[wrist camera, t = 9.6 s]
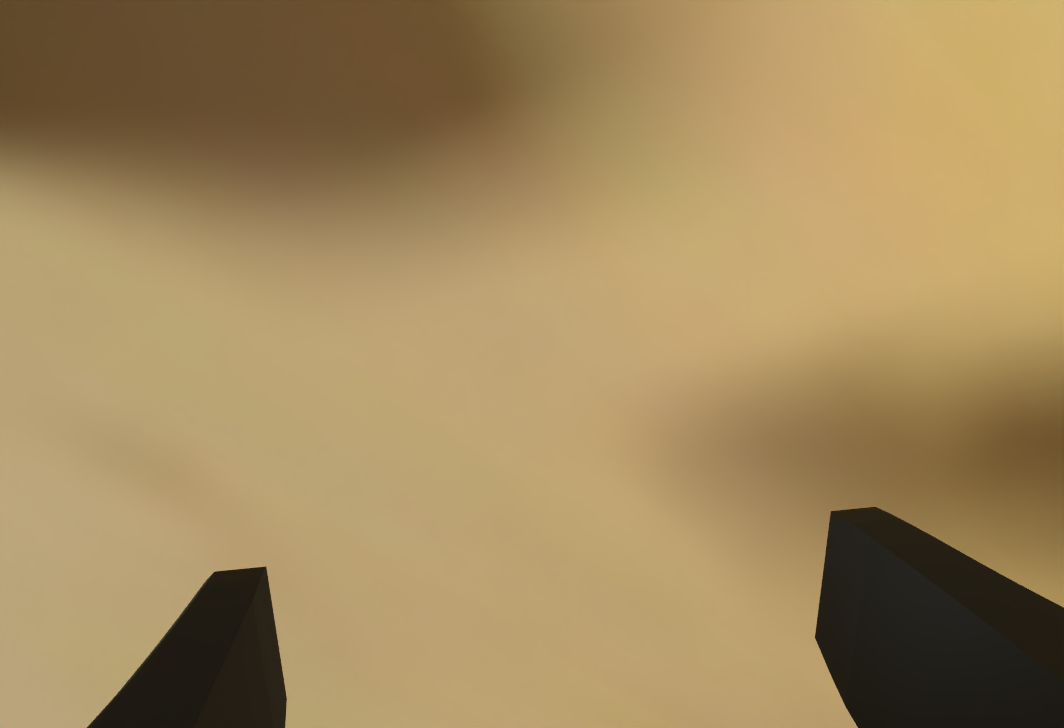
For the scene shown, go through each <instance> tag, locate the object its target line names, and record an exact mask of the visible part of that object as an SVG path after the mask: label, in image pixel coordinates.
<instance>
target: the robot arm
mask: <svg viewBox="0 0 1064 728" xmlns="http://www.w3.org/2000/svg"><path fill="white" fill-rule="evenodd" d="M815 639H816V641H817V643H818V646H819V648H820V650H821V653H822V655H823V657H824V660H825V662H826V664H827V667H828V669H829V672H830V674H831V676H832V678H833V680H834V683H835V685H836V687H837V689H838V691H839V693H840V696H841V698H842V700H843V702H844V704H845V706H846V708H847V710H848V711H849V713H850V715H851V716H852V718H853V720H854V722H855V723H856V725H857V727H858V728H1064V608H1063V607H1061V606H1059V605H1058V604H1056V603H1054V602H1052V601H1050V600H1048V599H1046V598H1044V597H1042V596H1040V595H1038V594H1036V593H1034V592H1033V591H1031V590H1029V589H1027V588H1025V587H1023V586H1021V585H1019V584H1018V583H1016V582H1014V581H1012V580H1010V579H1008V578H1006V577H1005V576H1003V575H1001V574H999V573H997V572H996V571H994V570H992V569H990V568H988V567H986V566H985V565H983V564H981V563H979V562H977V561H976V560H974V559H972V558H970V557H968V556H967V555H965V554H963V553H961V552H960V551H958V550H956V549H954V548H952V547H951V546H949V545H947V544H945V543H943V542H942V541H940V540H938V539H936V538H935V537H933V536H931V535H929V534H927V533H925V532H924V531H922V530H920V529H918V528H916V527H915V526H913V525H911V524H909V523H907V522H905V521H903V520H901V519H899V518H897V517H895V516H893V515H892V514H889V513H887V512H885V511H883V510H881V509H879V508H876V507H870V508H860V509H849V510H839V511H831V515H830V523H829V531H828V539H827V547H826V555H825V563H824V571H823V579H822V587H821V594H820V602H819V610H818V618H817V626H816V634H815ZM286 701H287V698H286V691H285V685H284V678H283V672H282V666H281V659H280V653H279V646H278V640H277V633H276V627H275V621H274V614H273V608H272V601H271V595H270V589H269V582H268V576H267V569H266V567H258V568H248V569H238V570H228V571H217V572H214V573H213V574H212V575H211V576H210V577H209V578H208V579H207V580H206V582H205V583H204V584H203V586H202V587H201V588H200V590H199V591H198V592H197V594H196V595H195V596H194V598H193V599H192V600H191V602H190V603H189V604H188V606H187V607H186V608H185V610H184V611H183V612H182V614H181V615H180V616H179V618H178V619H177V620H176V622H175V623H174V624H173V625H172V627H171V628H170V629H169V631H168V632H167V633H166V634H165V636H164V637H163V638H162V640H161V641H160V642H159V643H158V645H157V646H156V647H155V649H154V650H153V651H152V652H151V653H150V655H149V656H148V657H147V658H146V660H145V661H144V662H143V663H142V664H141V666H140V667H139V668H138V669H137V671H136V672H135V673H134V674H133V675H132V677H131V678H130V679H129V680H128V682H127V683H126V684H125V685H124V686H123V688H122V689H121V690H120V691H119V692H118V694H117V695H116V696H115V697H114V698H113V699H112V701H111V702H110V703H109V704H108V705H107V706H106V707H105V708H104V709H103V710H102V712H101V713H100V714H99V715H98V716H97V717H96V718H95V719H94V720H93V721H92V723H91V724H90V725H89V726H88V727H87V728H285V719H286Z"/></svg>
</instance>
